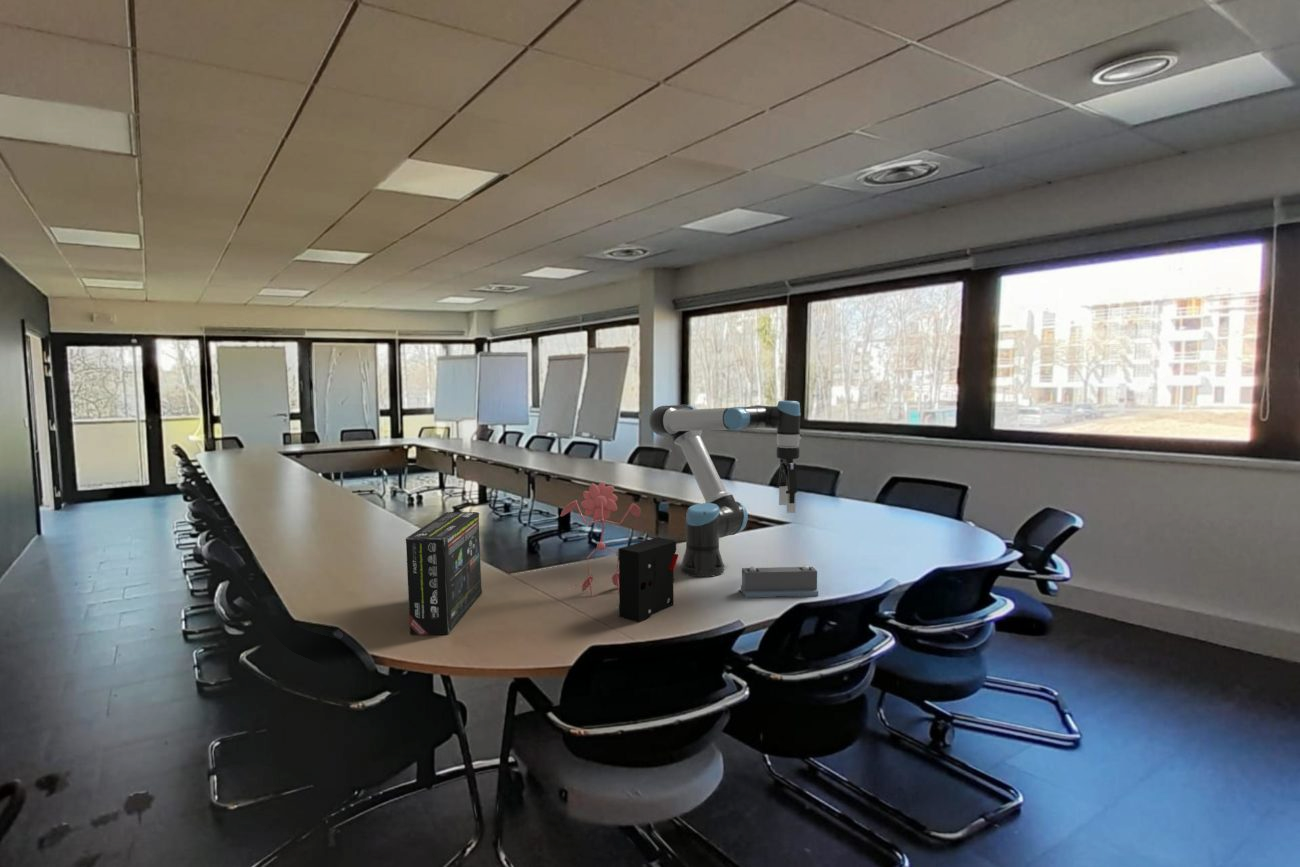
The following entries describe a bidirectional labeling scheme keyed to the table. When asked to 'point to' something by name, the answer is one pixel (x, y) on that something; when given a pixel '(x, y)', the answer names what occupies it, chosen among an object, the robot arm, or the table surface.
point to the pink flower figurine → (600, 506)
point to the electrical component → (646, 578)
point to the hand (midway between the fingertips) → (786, 508)
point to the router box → (443, 572)
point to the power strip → (779, 579)
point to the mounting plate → (781, 592)
